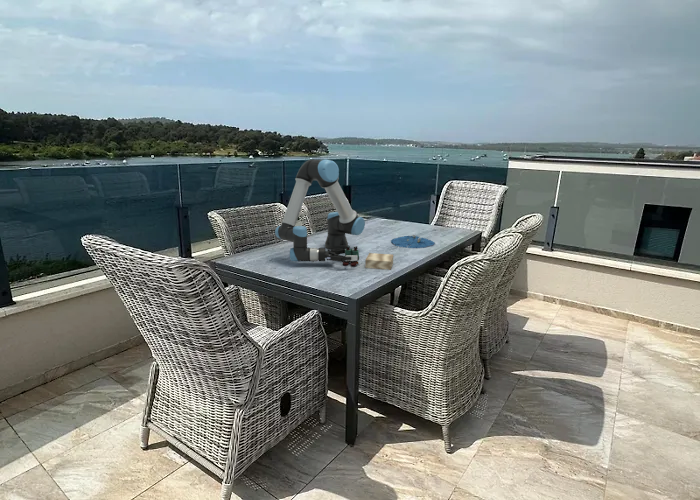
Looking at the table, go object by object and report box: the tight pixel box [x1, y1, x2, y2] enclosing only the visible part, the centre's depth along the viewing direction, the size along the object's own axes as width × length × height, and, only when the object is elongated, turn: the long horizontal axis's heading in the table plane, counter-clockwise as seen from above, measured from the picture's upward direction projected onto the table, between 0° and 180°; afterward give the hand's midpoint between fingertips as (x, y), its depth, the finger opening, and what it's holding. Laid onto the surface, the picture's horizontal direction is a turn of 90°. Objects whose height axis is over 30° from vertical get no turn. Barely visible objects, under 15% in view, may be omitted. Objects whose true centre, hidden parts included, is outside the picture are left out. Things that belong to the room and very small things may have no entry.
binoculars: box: [342, 244, 360, 268], centre depth 209 cm, size 9×11×10 cm
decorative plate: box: [390, 234, 435, 249], centre depth 260 cm, size 30×30×5 cm
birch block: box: [364, 252, 394, 271], centre depth 210 cm, size 14×14×5 cm
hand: (357, 254), depth 209 cm, fingers open, 12 cm apart
